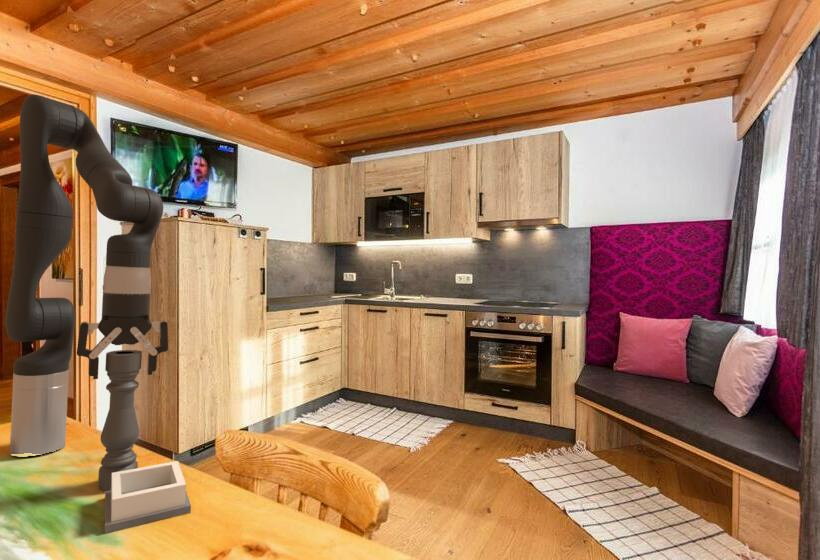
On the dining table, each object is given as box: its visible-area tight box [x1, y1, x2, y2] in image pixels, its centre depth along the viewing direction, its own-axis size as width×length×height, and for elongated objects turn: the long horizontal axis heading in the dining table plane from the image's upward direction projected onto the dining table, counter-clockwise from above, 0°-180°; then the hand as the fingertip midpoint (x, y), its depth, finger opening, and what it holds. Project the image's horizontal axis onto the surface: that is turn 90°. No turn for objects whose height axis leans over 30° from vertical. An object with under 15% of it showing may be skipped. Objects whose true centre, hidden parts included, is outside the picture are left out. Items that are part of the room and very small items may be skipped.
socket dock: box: [104, 460, 192, 534], centre depth 75 cm, size 12×12×5 cm
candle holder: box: [97, 349, 143, 492], centre depth 81 cm, size 6×6×25 cm
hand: (123, 376), depth 81 cm, fingers open, 8 cm apart
